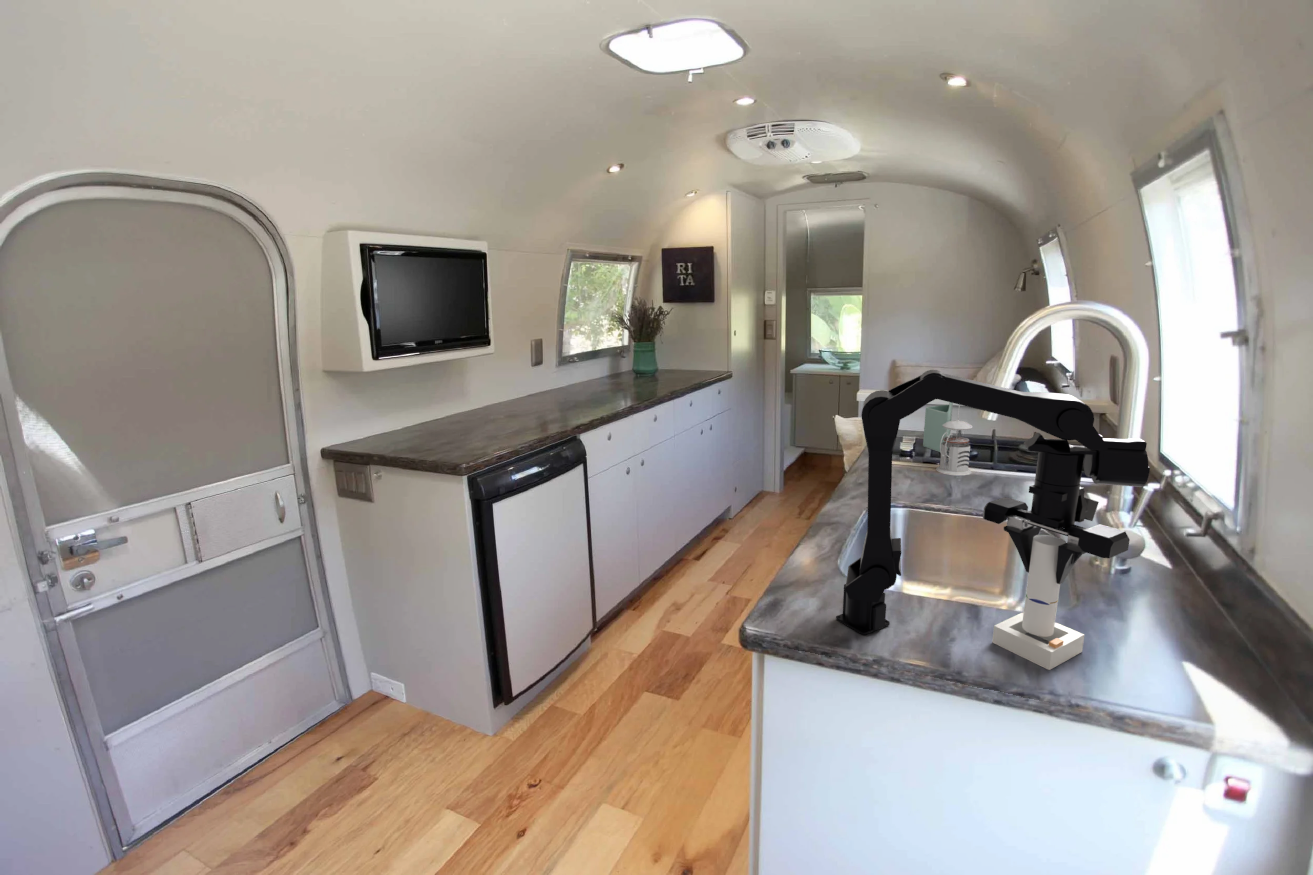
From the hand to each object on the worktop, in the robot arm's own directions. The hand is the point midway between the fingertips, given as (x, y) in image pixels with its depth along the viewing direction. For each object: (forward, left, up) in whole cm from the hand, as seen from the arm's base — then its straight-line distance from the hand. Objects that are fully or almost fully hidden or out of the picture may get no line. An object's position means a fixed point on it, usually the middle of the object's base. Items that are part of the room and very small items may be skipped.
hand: (1044, 577), depth 100 cm
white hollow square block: (0, 0, -12) cm, 12 cm away
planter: (-88, +92, -12) cm, 128 cm away
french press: (-67, +72, -12) cm, 99 cm away
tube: (0, 0, -9) cm, 9 cm away
